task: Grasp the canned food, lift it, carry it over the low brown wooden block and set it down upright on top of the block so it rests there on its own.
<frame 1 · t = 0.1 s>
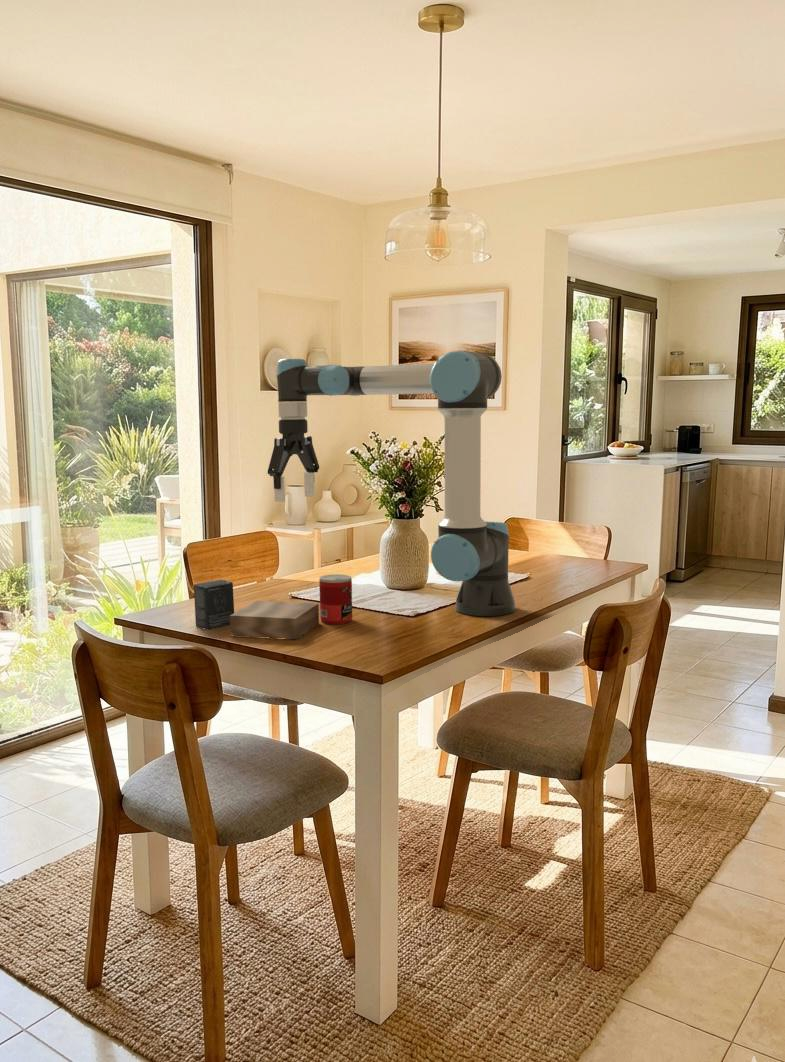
hand: (295, 499, 243), 28 cm above the table, fingers open, 13 cm apart
box: (215, 626, 222), on the table
canned food: (336, 621, 225), on the table
brown wooden block: (276, 629, 217), on the table
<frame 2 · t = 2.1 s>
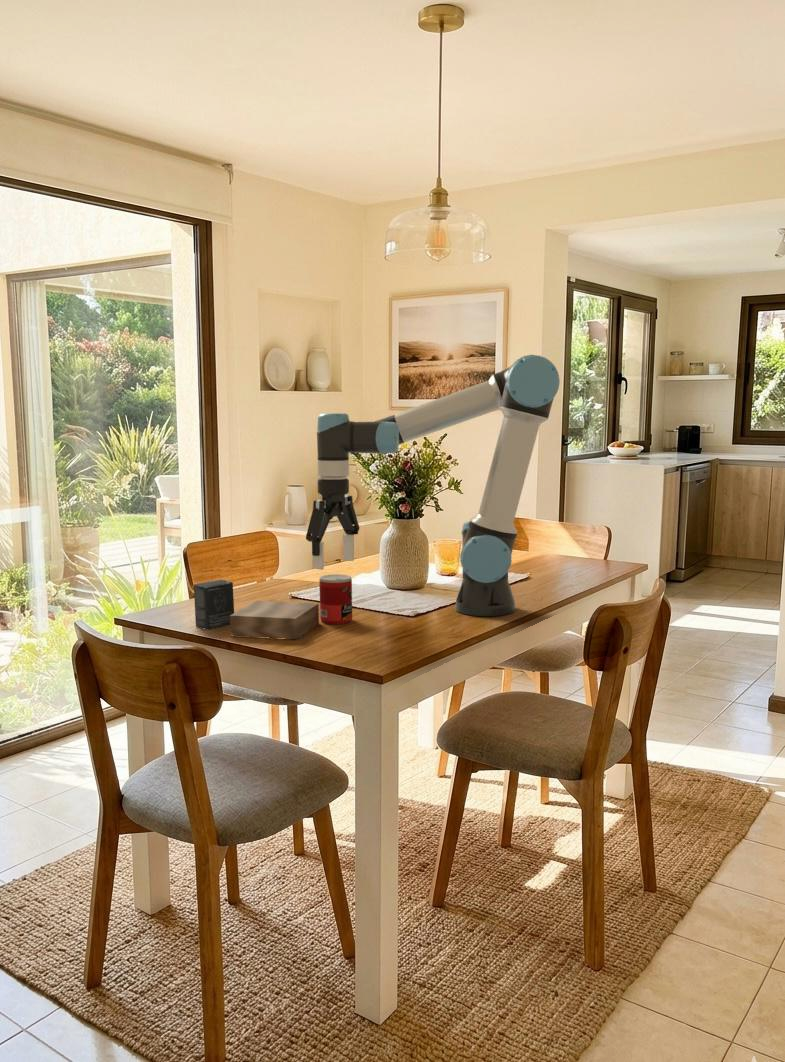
hand: (333, 564, 223), 14 cm above the table, fingers open, 13 cm apart
nothing on the table moved.
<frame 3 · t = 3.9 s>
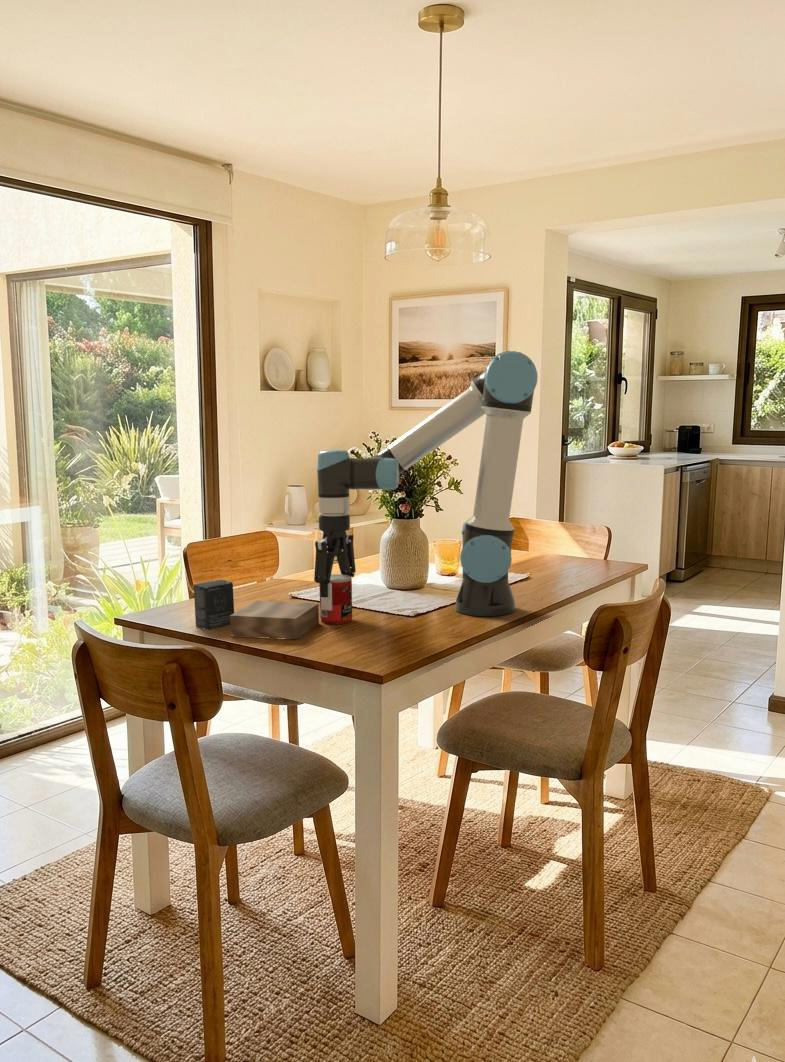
hand: (336, 606, 224), 4 cm above the table, fingers closed on canned food, 8 cm apart
canned food: (336, 621, 225), on the table, touching gripper
everything else where it was.
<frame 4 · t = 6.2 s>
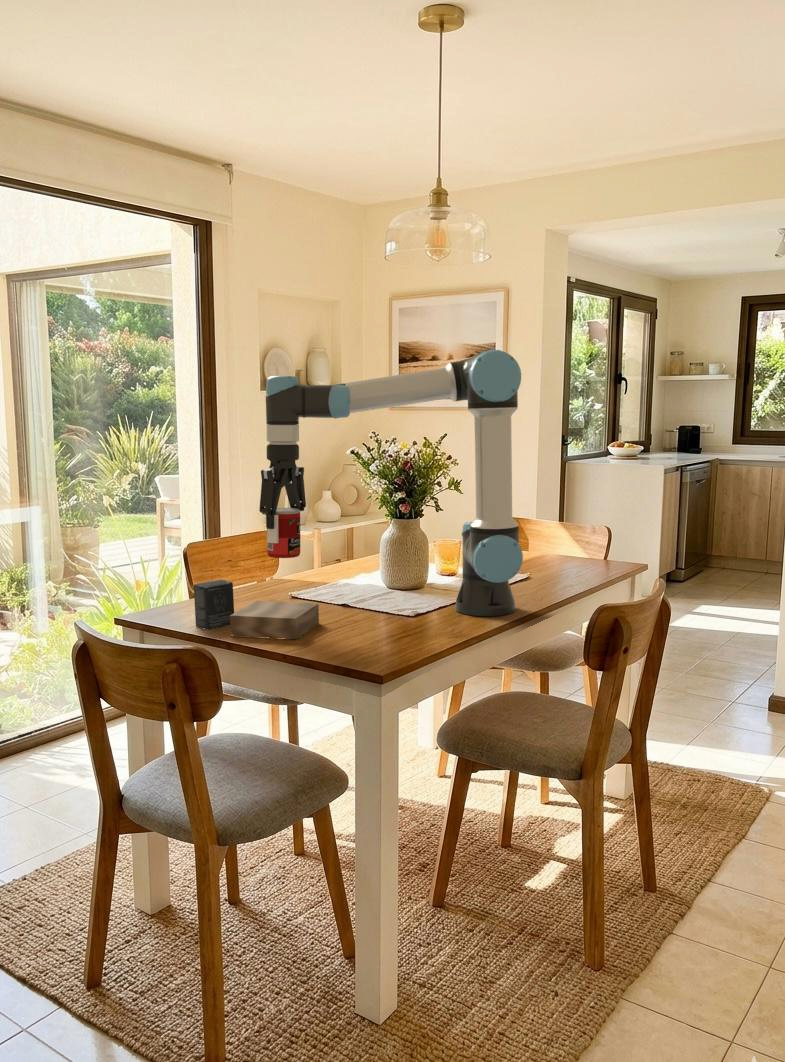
hand: (283, 540, 216), 21 cm above the table, fingers closed on canned food, 8 cm apart
canned food: (283, 556, 216), point 17 cm above the table, touching gripper
everything else where it was.
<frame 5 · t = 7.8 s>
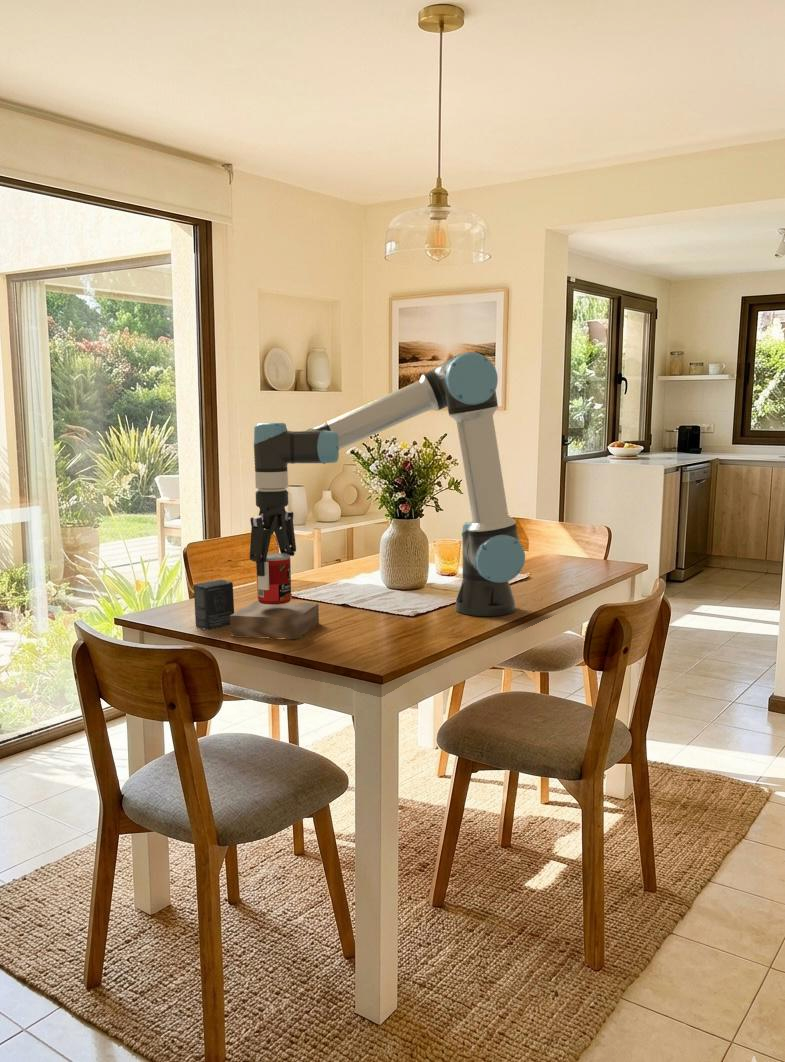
hand: (274, 586, 215), 11 cm above the table, fingers closed on canned food, 8 cm apart
canned food: (274, 602, 216), point 7 cm above the table, touching gripper
everything else where it was.
when the fingers open (10 cm above the table, at t = 8.7 s): canned food stays where it is, resting on brown wooden block.
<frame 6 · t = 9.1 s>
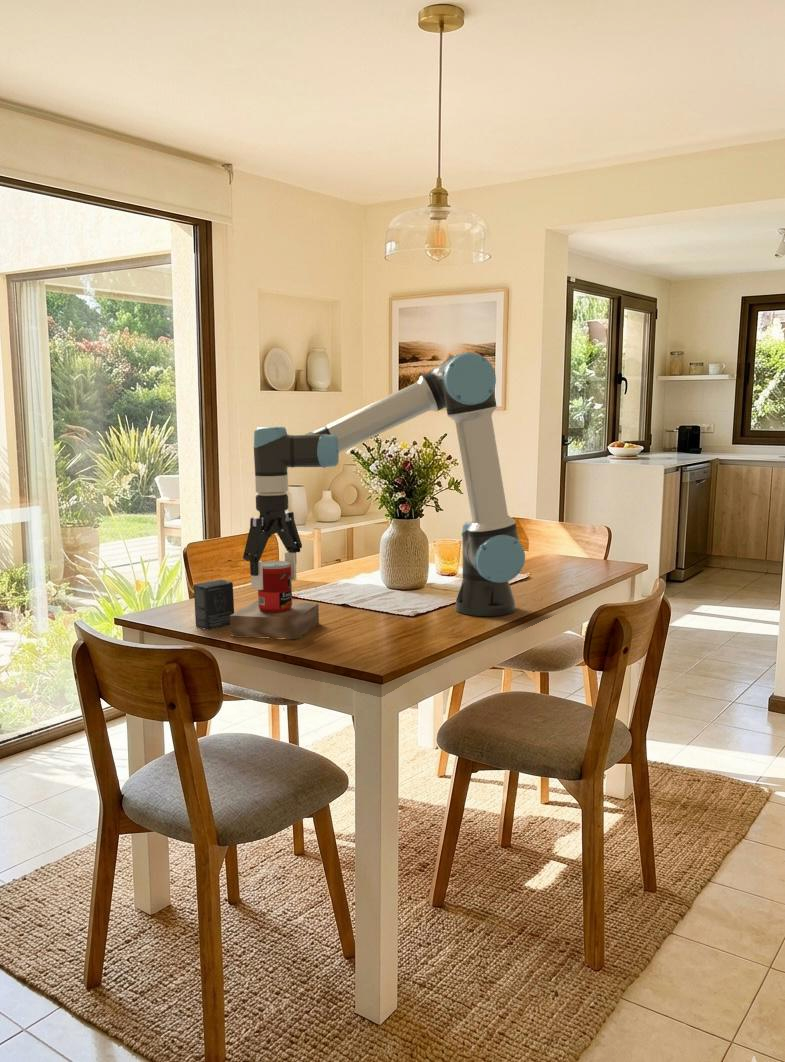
hand: (274, 584, 215), 11 cm above the table, fingers open, 12 cm apart
canned food: (275, 610, 216), point 5 cm above the table, touching brown wooden block
everything else where it was.
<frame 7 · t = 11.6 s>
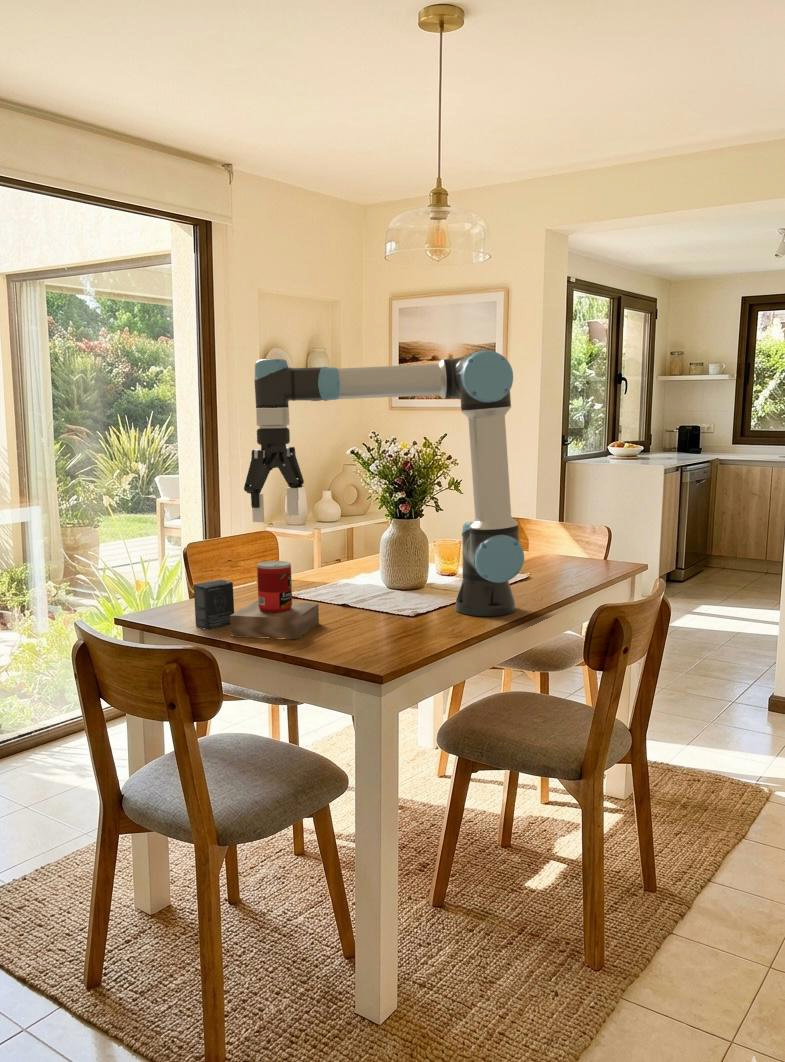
hand: (276, 518, 214), 26 cm above the table, fingers open, 13 cm apart
nothing on the table moved.
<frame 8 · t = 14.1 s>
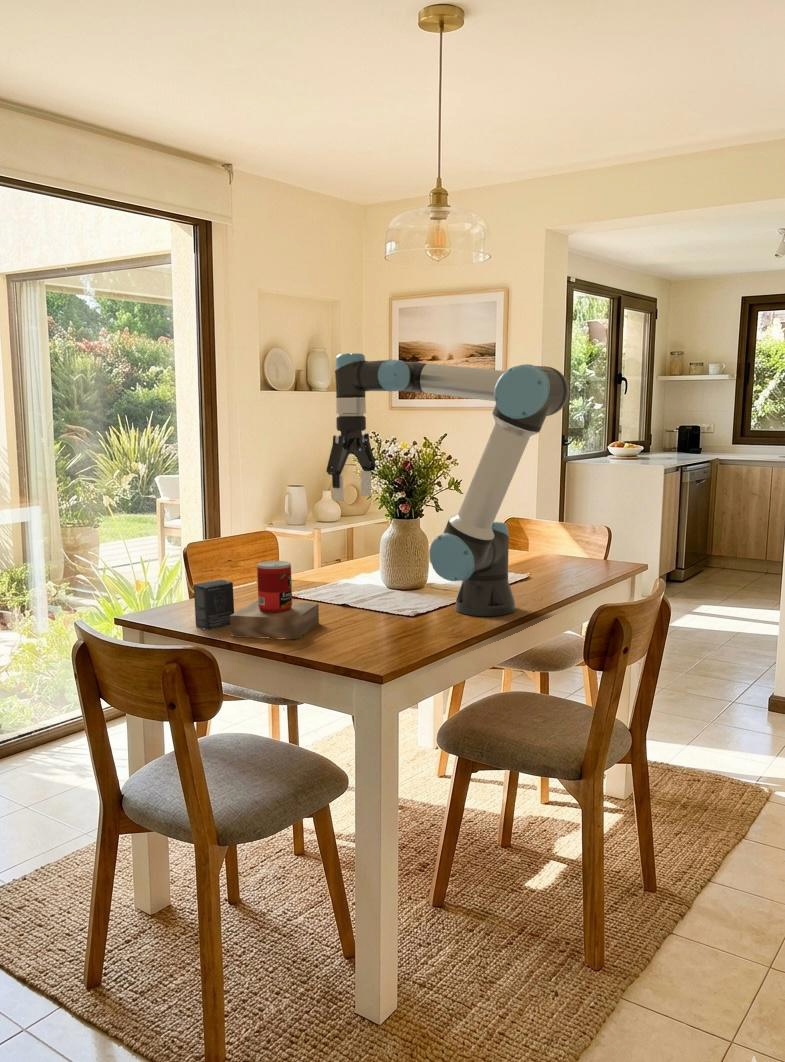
hand: (352, 498, 236), 29 cm above the table, fingers open, 13 cm apart
nothing on the table moved.
at the end: canned food inside the target area on the brown wooden block (0.0 cm from its centre), point 4.8 cm above the brown wooden block's base; canned food tilted 0°; canned food touching brown wooden block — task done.
